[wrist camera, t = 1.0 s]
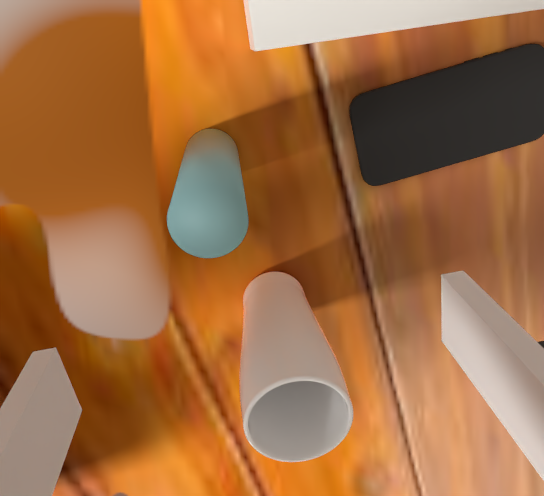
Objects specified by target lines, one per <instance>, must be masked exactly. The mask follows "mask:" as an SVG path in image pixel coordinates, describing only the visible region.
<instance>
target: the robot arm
mask: <svg viewBox="0 0 544 496" xmlns="http://www.w3.org/2000/svg"><path fill="white" fill-rule="evenodd" d="M441 307H442V342H443V343H444V345H445V346H446V347H447V349H448V350H449V351H450V353H451V354H452V356H453V357H454V358H455V360H456V361H457V362H458V364H459V365H460V367H461V368H462V369H463V371H464V372H465V373H466V375H467V376H468V378H469V379H470V380H471V382H472V383H473V384H474V386H475V387H476V388H477V390H478V391H479V393H480V394H481V395H482V397H483V398H484V399H485V401H486V402H487V404H488V405H489V406H490V408H491V409H492V410H493V412H494V413H495V415H496V416H497V417H498V419H499V420H500V421H501V423H502V424H503V426H504V427H505V428H506V430H507V431H508V432H509V434H510V435H511V437H512V438H513V439H514V441H515V442H516V443H517V445H518V446H519V448H520V449H521V450H522V452H523V453H524V454H525V456H526V457H527V459H528V460H529V461H530V463H531V464H532V465H533V467H534V468H535V469H536V471H537V472H538V474H539V475H540V476H541V478H542V479H543V480H544V341H541V342H537V341H536V340H535V339H533V338H532V337H531V336H530V335H529V334H528V333H527V332H526V331H525V330H524V329H523V328H522V327H521V326H520V325H519V324H518V323H517V322H516V321H515V320H514V319H513V318H512V317H511V316H510V315H509V314H508V313H507V312H506V311H505V310H504V309H503V308H501V307H500V306H499V305H498V304H497V303H496V302H495V301H494V300H493V299H492V298H491V297H490V296H489V295H488V294H487V293H486V292H485V291H484V290H483V289H482V288H481V287H480V286H479V285H478V284H477V283H476V282H475V281H474V280H473V279H472V278H470V277H469V276H468V275H467V274H466V273H465V272H464V271H457V272H452V273H447V274H442V275H441ZM81 412H82V408H81V406H80V404H79V401H78V399H77V396H76V394H75V392H74V389H73V387H72V384H71V382H70V380H69V377H68V375H67V373H66V370H65V368H64V365H63V363H62V361H61V358H60V356H59V354H58V351H57V349H56V347H55V348H50V349H45V350H39V351H34V352H32V354H31V356H30V357H29V359H28V361H27V363H26V364H25V366H24V368H23V370H22V371H21V373H20V375H19V377H18V378H17V380H16V382H15V384H14V385H13V387H12V389H11V391H10V392H9V394H8V396H7V398H6V399H5V401H4V403H3V405H2V406H1V408H0V496H52V494H53V491H54V489H55V486H56V483H57V480H58V477H59V475H60V472H61V469H62V466H63V463H64V460H65V458H66V455H67V452H68V449H69V446H70V443H71V441H72V438H73V435H74V432H75V429H76V427H77V424H78V421H79V418H80V415H81Z"/></svg>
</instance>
